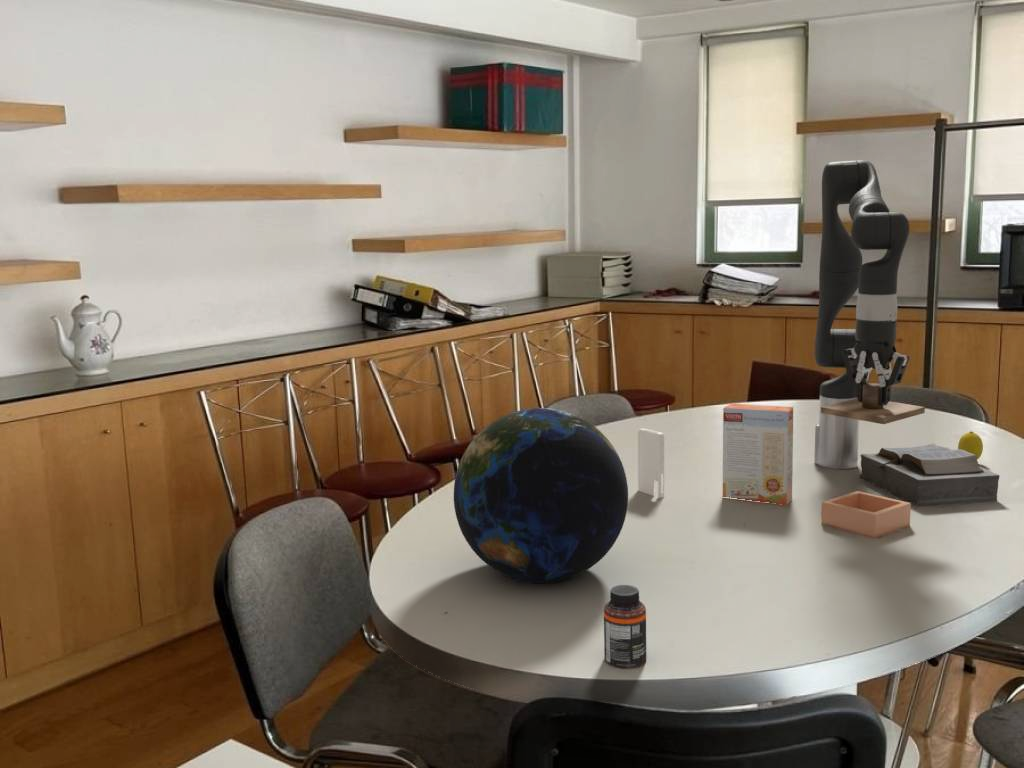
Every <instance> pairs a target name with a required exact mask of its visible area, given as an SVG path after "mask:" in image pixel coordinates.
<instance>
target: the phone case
mask: <svg viewBox="0 0 1024 768" xmlns="http://www.w3.org/2000/svg"><path fill="white" fill-rule="evenodd" d="M637 477H638V478H637V490H638V492H641V493H643V494H646V495H650V496H653V497H655V482H657V483H658V485H657V486H658V487H657V488H658V491H657V498H659V499H660V498H665V435H664V433H663V432H661V431H656V430H652V429H647V428H639V429H638V431H637Z"/></svg>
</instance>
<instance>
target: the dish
mask: <svg viewBox="0 0 1024 768" xmlns="http://www.w3.org/2000/svg"><path fill="white" fill-rule="evenodd" d="M911 504H912V503H910V502H907V501H905V500H899V499H894V498H890V497H886V496H882V495H876V494H872V493H868V492H864V491H859V490H856V491H853V492H850V493H847V494H843V495H840V496H837V497H834V498H831V499H828V500H825V501H822V502H821V525H822V526H827V527H830V528H834V529H838V530H842V531H845V532H848V533H852V534H857V535H859V536H863V537H868V538H871V539H874V540H875V539H877V538H880V537H883V536H887V535H889V534H892V533H895V532H899V531H900V530H901V531H902V530H903V529H906V528H908V527H910V526H911V508H912V505H911Z"/></svg>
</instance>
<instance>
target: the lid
mask: <svg viewBox="0 0 1024 768" xmlns="http://www.w3.org/2000/svg"><path fill="white" fill-rule="evenodd" d="M879 387H881V385H880V383H872V382H870V383H869V382H867V383H866V384H863V393H862V402H859V401H858V399H857V398H856V399H852V400H848V401H844V402H840V403H836V404H832V405H827V406H823V407H821V413H824V414H829V415H835V416H840V417H846V418H851V419H857V420H859V421H863V422H869V423H874V424H880V425H886V424H891V423H893V422H897V421H900V420H905V419H907V418H911V417H916V416H918V415H922V414H925V412H926V411H925V410H926V407H925V406H922V405H921V406H920V405H914V404H909V403H903V402H896V401H891V400H890V401H889V402H888V404H887V405H884V406H882V405H879Z"/></svg>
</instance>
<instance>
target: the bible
mask: <svg viewBox="0 0 1024 768" xmlns="http://www.w3.org/2000/svg"><path fill="white" fill-rule="evenodd" d="M859 456H860V469H861V473H860V475H859V479H860V480H862V481H864V482H867V483H870V484H872V485H874V486H875V487H877V488H878V489H881V490H883V491H885V492H887V493H890V494H891V495H894V496H896V497H898V498H900V499H902V501H905V502H909V503H911V504H912V505H913V504H914V505H916V507H921V508H922V507H923V508H924V507H937V506H950V505H951V506H952V505H963V504H975V503H977V504H978V503H989V502H991V503H992V502H997V501H998V491H999V490H998V488H999V481H1000V476H1001V475H999V474H998V473H995V472H992V471H990V470H989V469H986V468H984V467H981V466H980V465H979V462H978V459H977V458H976V455H975V454H971V453H969V452H966V451H964V450H960V449H958V448H957V449H951V448H949V447H946V446H940V445H939V444H936V443H931V444H926V445H925V444H924V445H920V446H911V447H881V448H880V450H879V451H878V452H876V453H861V454H860V455H859Z"/></svg>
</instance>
